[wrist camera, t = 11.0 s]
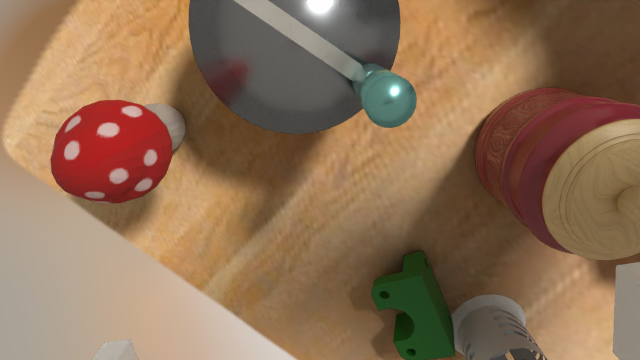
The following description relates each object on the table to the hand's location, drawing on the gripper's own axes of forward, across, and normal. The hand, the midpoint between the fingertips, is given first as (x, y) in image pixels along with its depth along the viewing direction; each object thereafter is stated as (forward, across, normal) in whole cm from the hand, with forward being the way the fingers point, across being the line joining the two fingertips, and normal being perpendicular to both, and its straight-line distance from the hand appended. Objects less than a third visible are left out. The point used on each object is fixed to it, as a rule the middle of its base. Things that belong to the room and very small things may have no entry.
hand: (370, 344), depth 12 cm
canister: (+35, +20, -7) cm, 41 cm away
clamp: (+35, +5, -23) cm, 42 cm away
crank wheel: (+31, -2, +9) cm, 33 cm away
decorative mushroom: (+35, -19, +2) cm, 40 cm away
